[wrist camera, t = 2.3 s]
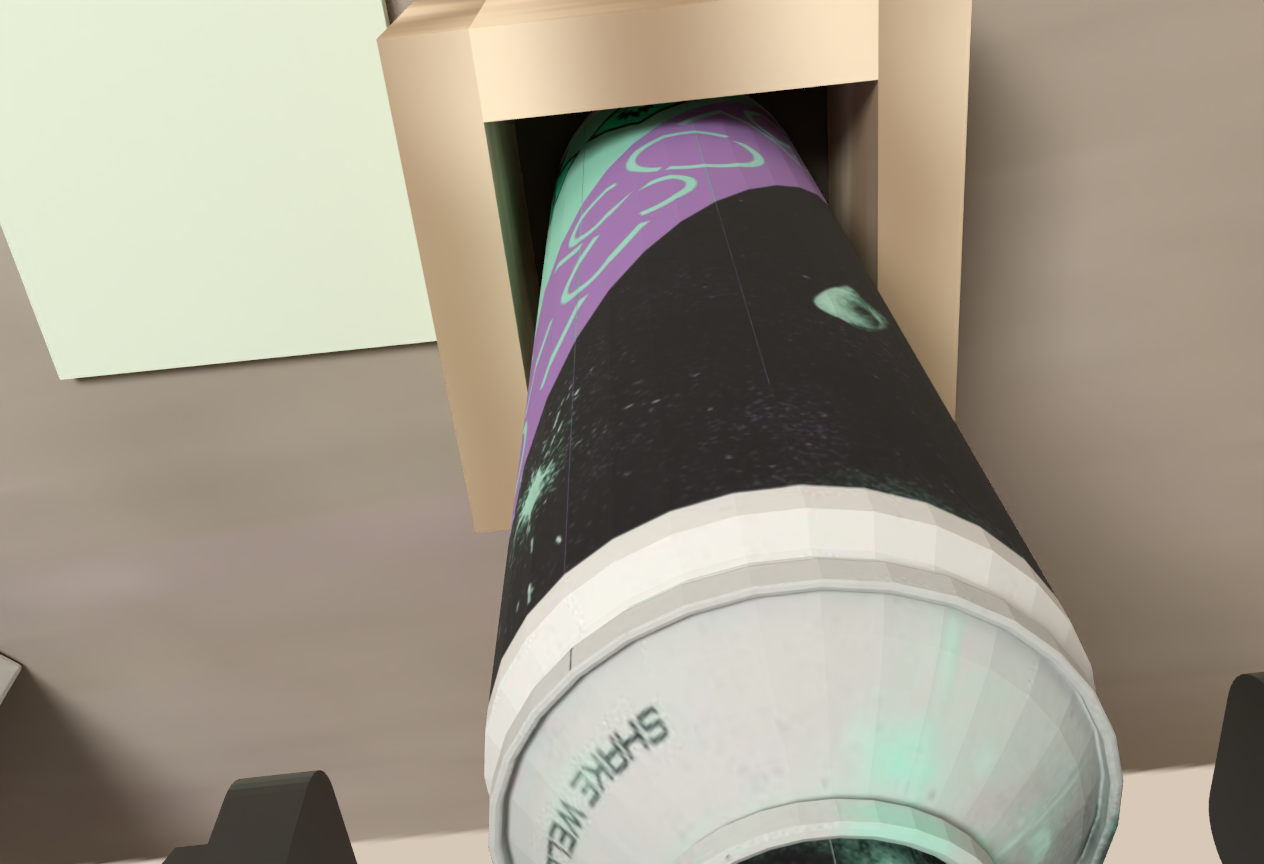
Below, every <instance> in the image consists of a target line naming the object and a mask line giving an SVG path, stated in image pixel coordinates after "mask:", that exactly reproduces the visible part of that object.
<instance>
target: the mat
mask: <svg viewBox="0 0 1264 864" xmlns="http://www.w3.org/2000/svg"><path fill="white" fill-rule="evenodd" d="M389 26H390V22H389V17H388V12H387V7H386V2H385V0H0V224H1V226H2V229H3V232H4V234H5V237H6V240H7V242H8V245H9V247H10V250H11V253H12V255H13V258H14V260H15V263H16V266H17V268H18V271H19V274H20V276H21V279H22V281H23V284H24V287H25V289H26V292H27V295H28V297H29V300H30V302H31V305H32V308H33V310H34V313H35V315H36V318H37V321H38V323H39V326H40V329H41V331H42V334H43V336H44V339H45V342H46V344H47V347H48V349H49V352H50V355H51V357H52V360H53V363H54V365H55V368H56V370H57V373H58V376H59V378H60V380H63V379H73V378H83V377H92V376H102V375H112V374H121V373H131V372H141V371H150V370H160V369H170V368H179V367H189V366H199V365H208V364H218V363H228V362H237V361H247V360H257V359H267V358H276V357H286V356H296V355H305V354H315V353H325V352H334V351H344V350H354V349H363V348H373V347H383V346H392V345H402V344H412V343H421V342H431V341H437V339H436V334H435V329H434V324H433V319H432V314H431V309H430V304H429V299H428V294H427V289H426V284H425V279H424V274H423V269H422V264H421V259H420V254H419V249H418V244H417V239H416V234H415V229H414V224H413V219H412V214H411V209H410V204H409V199H408V194H407V189H406V184H405V179H404V174H403V169H402V164H401V160H400V155H399V150H398V145H397V140H396V135H395V130H394V125H393V120H392V115H391V110H390V105H389V100H388V95H387V90H386V85H385V80H384V75H383V70H382V65H381V60H380V55H379V50H378V45H377V40H376V39H377V38H378V37H379V36H380V35H381V34H382V33H383V32H384V31H385V30H386V29H387V28H388V27H389Z"/></svg>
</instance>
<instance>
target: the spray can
mask: <svg viewBox="0 0 1264 864" xmlns="http://www.w3.org/2000/svg"><path fill="white" fill-rule="evenodd" d="M484 777H485V781H486V785H487V789H488V793H489V797H490V809H489V850H490V854H491V858H492V862H493V864H1103V862H1104V859H1105V857H1106V854H1107V851H1108V849H1109V847H1110V844H1111V841H1112V839H1113V836H1114V834H1115V831H1116V829H1117V826H1118V820H1119V812H1120V803H1121V796H1122V787H1123V776H1122V770H1121V763H1120V757H1119V751H1118V745H1117V738H1116V735H1115V733H1114V731H1113V728H1112V726H1111V724H1110V722H1109V720H1108V718H1107V716H1106V714H1105V712H1104V710H1103V707H1102V705H1101V703H1100V701H1099V699H1098V697H1097V695H1096V690H1095V684H1094V678H1093V672H1092V666H1091V664H1090V662H1089V660H1088V658H1087V655H1086V653H1085V651H1084V649H1083V647H1082V645H1081V643H1080V641H1079V639H1078V636H1077V634H1076V632H1075V630H1074V628H1073V626H1072V624H1071V622H1070V620H1069V618H1068V616H1067V615H1066V613H1065V611H1064V610H1063V608H1062V606H1061V604H1060V603H1059V601H1058V599H1057V597H1056V596H1055V594H1054V592H1053V591H1052V589H1051V587H1050V585H1049V584H1048V582H1047V580H1046V579H1045V577H1044V575H1043V573H1042V572H1041V570H1040V568H1039V566H1038V565H1037V563H1036V561H1035V560H1034V558H1033V556H1032V554H1031V553H1030V551H1029V549H1028V548H1027V546H1026V544H1025V542H1024V541H1023V539H1022V537H1021V536H1020V534H1019V532H1018V530H1017V529H1016V527H1015V525H1014V523H1013V522H1012V520H1011V518H1010V517H1009V515H1008V513H1007V511H1006V510H1005V508H1004V506H1003V505H1002V503H1001V501H1000V499H999V498H998V496H997V494H996V493H995V491H994V489H993V487H992V486H991V484H990V482H989V480H988V479H987V477H986V475H985V474H984V472H983V470H982V468H981V467H980V465H979V463H978V462H977V460H976V458H975V456H974V455H973V453H972V451H971V449H970V448H969V446H968V444H967V443H966V441H965V439H964V437H963V436H962V434H961V432H960V431H959V429H958V427H957V425H956V424H955V422H954V420H953V419H952V417H951V415H950V413H949V412H948V410H947V408H946V406H945V405H944V403H943V401H942V400H941V398H940V396H939V394H938V393H937V391H936V389H935V388H934V386H933V384H932V382H931V381H930V379H929V377H928V376H927V374H926V372H925V370H924V369H923V367H922V365H921V363H920V362H919V360H918V358H917V357H916V355H915V353H914V351H913V350H912V348H911V346H910V345H909V343H908V341H907V339H906V338H905V336H904V334H903V332H902V331H901V329H900V327H899V326H898V324H897V322H896V320H895V319H894V317H893V315H892V314H891V312H890V310H889V308H888V307H887V305H886V303H885V302H884V300H883V298H882V296H881V295H880V293H879V291H878V289H877V288H876V286H875V284H874V283H873V281H872V279H871V277H870V276H869V274H868V272H867V271H866V269H865V267H864V265H863V264H862V262H861V260H860V259H859V257H858V255H857V253H856V252H855V250H854V248H853V246H852V245H851V243H850V241H849V240H848V238H847V236H846V234H845V233H844V231H843V229H842V228H841V226H840V224H839V222H838V221H837V219H836V217H835V215H834V214H833V212H832V210H831V209H830V207H829V205H828V203H827V202H826V200H825V198H824V197H823V195H822V193H821V191H820V190H819V188H818V186H817V185H816V183H815V181H814V179H813V178H812V176H811V174H810V172H809V171H808V169H807V167H806V166H805V164H804V162H803V160H802V159H801V157H800V155H799V154H798V152H797V150H796V148H795V147H794V145H793V143H792V141H791V140H790V138H789V136H788V135H787V134H786V132H785V131H784V130H783V129H782V127H781V126H780V125H779V123H778V122H777V121H776V120H775V118H774V117H773V116H772V115H771V114H770V113H769V112H768V111H767V110H766V109H765V108H763V107H762V106H761V105H760V104H759V103H757V102H756V101H755V100H754V99H753V98H751V97H750V96H749V95H747V94H742V95H733V96H723V97H714V98H705V99H696V100H686V101H677V102H668V103H659V104H650V105H640V106H631V107H622V108H613V109H603V110H594V111H593V112H592V113H591V114H590V115H589V116H587V118H586V119H585V120H584V122H583V123H582V124H581V126H580V127H579V128H578V130H577V131H576V132H575V134H574V135H573V136H572V138H571V140H570V142H569V144H568V146H567V148H566V150H565V152H564V155H563V157H562V159H561V162H560V164H559V168H558V172H557V176H556V180H555V184H554V188H553V196H552V204H551V212H550V220H549V228H548V236H547V244H546V252H545V260H544V267H543V275H542V283H541V291H540V299H539V307H538V315H537V323H536V331H535V339H534V347H533V355H532V363H531V371H530V379H529V387H528V395H527V403H526V411H525V419H524V427H523V435H522V443H521V451H520V459H519V466H518V474H517V482H516V490H515V498H514V506H513V514H512V522H511V530H510V538H509V546H508V554H507V562H506V570H505V578H504V586H503V594H502V602H501V610H500V618H499V626H498V634H497V642H496V650H495V658H494V666H493V673H492V681H491V689H490V697H489V705H488V713H487V721H486V730H485V771H484Z"/></svg>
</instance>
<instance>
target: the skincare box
mask: <svg viewBox="0 0 1264 864" xmlns="http://www.w3.org/2000/svg"><path fill="white" fill-rule="evenodd" d="M20 671H21V665H20V664H18V663H16V662H14V661H12V660H11V659H9V658H7V657H5V656H3V655H1V654H0V704H1V703H2V701H3V699H4V698H5V696H6V694H7V693H8V691H9V689H10V688H11V686H12V684H13V683H14V681H15V679H16V677H17V676H18V674H19V672H20Z"/></svg>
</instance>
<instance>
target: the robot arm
mask: <svg viewBox="0 0 1264 864" xmlns="http://www.w3.org/2000/svg"><path fill="white" fill-rule="evenodd" d="M1209 817H1210V825H1211V830H1212V834H1213V839H1214V842H1215V845H1216V848H1217V851H1218V854H1219V857H1220V859H1221V861H1222V864H1264V672H1259V673H1250V674H1242V675H1240V676H1238V677H1236V679H1235V680H1234V681H1233V683H1232V685H1231V687H1230V691H1229V694H1228V700H1227V705H1226V710H1225V716H1224V721H1223V726H1222V732H1221V737H1220V742H1219V748H1218V753H1217V758H1216V764H1215V769H1214V775H1213V780H1212V785H1211V790H1210V798H1209ZM162 864H357V862H356V859H355V856H354V852H353V849H352V847H351V843H350V840H349V837H348V834H347V831H346V827H345V824H344V821H343V818H342V815H341V812H340V809H339V806H338V803H337V800H336V796H335V793H334V790H333V787H332V785H331V782H330V780H329V778H328V776H327V775H326V774H325V772H323V771H321V770H320V771H309V772H300V773H290V774H281V775H272V776H262V777H253V778H244V779H238V780H236V781H235V782H234V783H233V784H232V785H231V786H230V788H229V790H228V792H227V794H226V796H225V799H224V801H223V804H222V807H221V810H220V812H219V815H218V818H217V821H216V823H215V826H214V829H213V831H212V834H211V837H210V840H209V842H208V844H206V845H197V846H187V847H178V848H175V849H174V850H173V851H172V853H171V854H170V855H169V856H168V857H167V859H166V860H165V861H164V862H163V863H162Z"/></svg>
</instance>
